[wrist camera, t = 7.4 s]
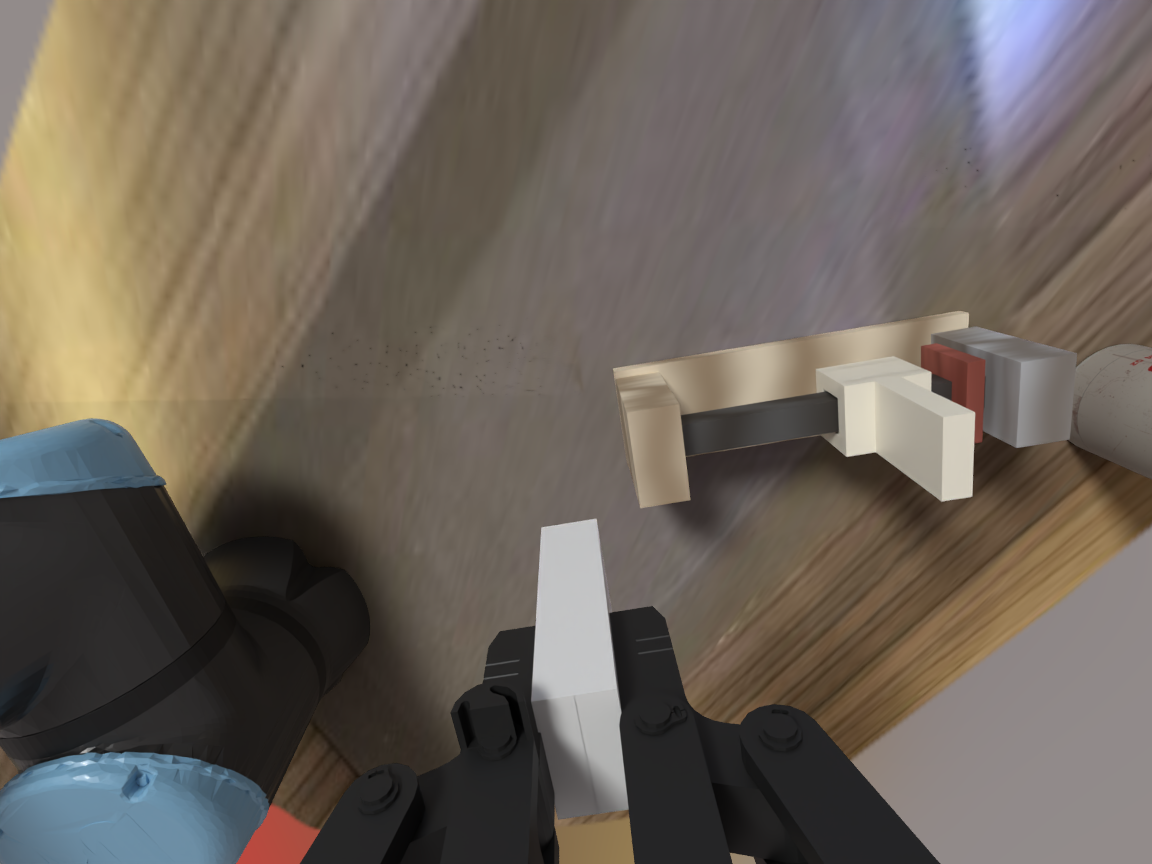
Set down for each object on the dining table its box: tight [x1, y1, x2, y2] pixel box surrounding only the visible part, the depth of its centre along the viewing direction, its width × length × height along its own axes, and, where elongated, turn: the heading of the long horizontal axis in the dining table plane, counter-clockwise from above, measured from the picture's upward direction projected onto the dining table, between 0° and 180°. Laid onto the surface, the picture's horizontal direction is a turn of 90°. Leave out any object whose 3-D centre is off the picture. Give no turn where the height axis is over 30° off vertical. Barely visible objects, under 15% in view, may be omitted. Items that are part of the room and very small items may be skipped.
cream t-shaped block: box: [816, 356, 975, 501], centre depth 37 cm, size 5×4×11 cm
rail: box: [613, 311, 1077, 508], centre depth 41 cm, size 24×7×10 cm, turn 99°
